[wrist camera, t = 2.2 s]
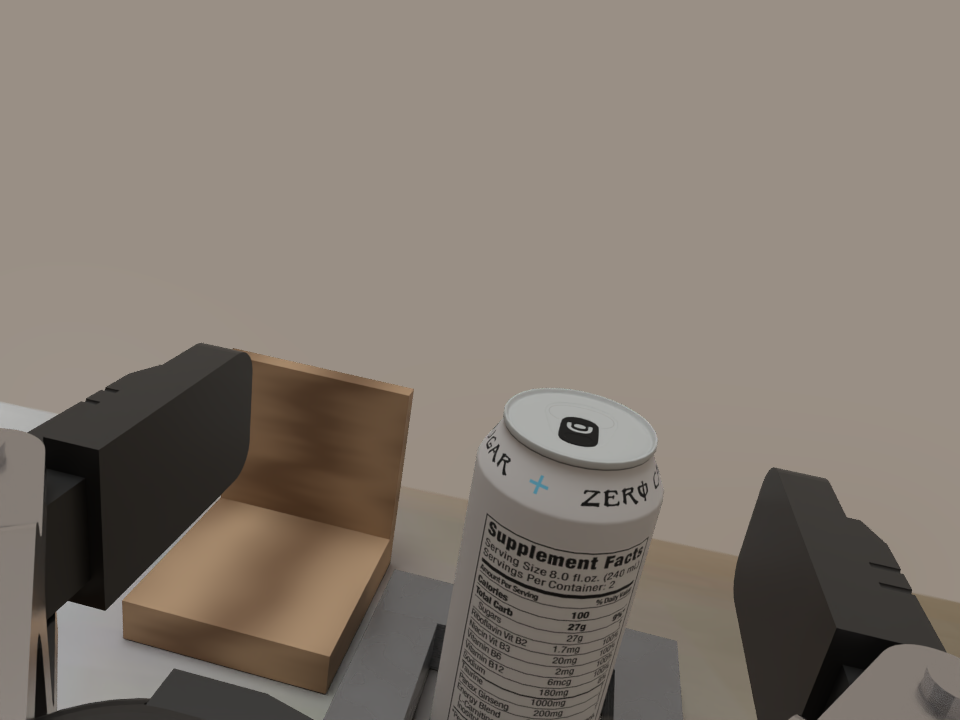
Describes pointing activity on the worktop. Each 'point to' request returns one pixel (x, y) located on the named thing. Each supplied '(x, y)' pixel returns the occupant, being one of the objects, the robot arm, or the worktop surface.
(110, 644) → the worktop surface
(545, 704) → the energy drink can
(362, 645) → the socket block
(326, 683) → the wooden l-shaped stand
